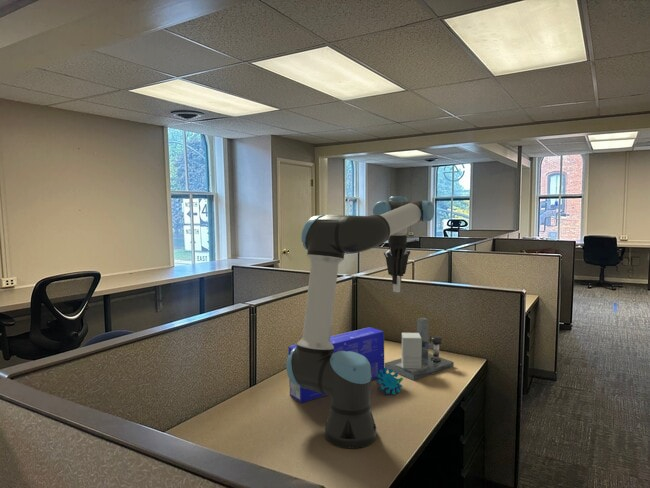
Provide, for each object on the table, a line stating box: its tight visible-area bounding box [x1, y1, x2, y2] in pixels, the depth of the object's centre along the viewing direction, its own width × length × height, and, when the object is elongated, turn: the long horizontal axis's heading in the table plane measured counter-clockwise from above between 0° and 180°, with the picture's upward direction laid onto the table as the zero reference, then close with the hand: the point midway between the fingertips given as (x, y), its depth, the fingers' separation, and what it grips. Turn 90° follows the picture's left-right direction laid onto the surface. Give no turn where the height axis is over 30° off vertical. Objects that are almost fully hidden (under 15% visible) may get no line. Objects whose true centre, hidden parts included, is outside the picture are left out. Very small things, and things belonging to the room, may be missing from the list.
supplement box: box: [400, 332, 422, 369], centre depth 172 cm, size 7×7×13 cm
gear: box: [376, 367, 404, 396], centre depth 155 cm, size 11×6×10 cm
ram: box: [429, 335, 444, 357], centre depth 179 cm, size 5×5×8 cm
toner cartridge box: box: [287, 326, 385, 404], centre depth 158 cm, size 39×8×18 cm, turn 125°
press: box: [384, 317, 455, 381], centre depth 176 cm, size 24×16×18 cm, turn 126°
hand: (396, 291), depth 176 cm, fingers closed
